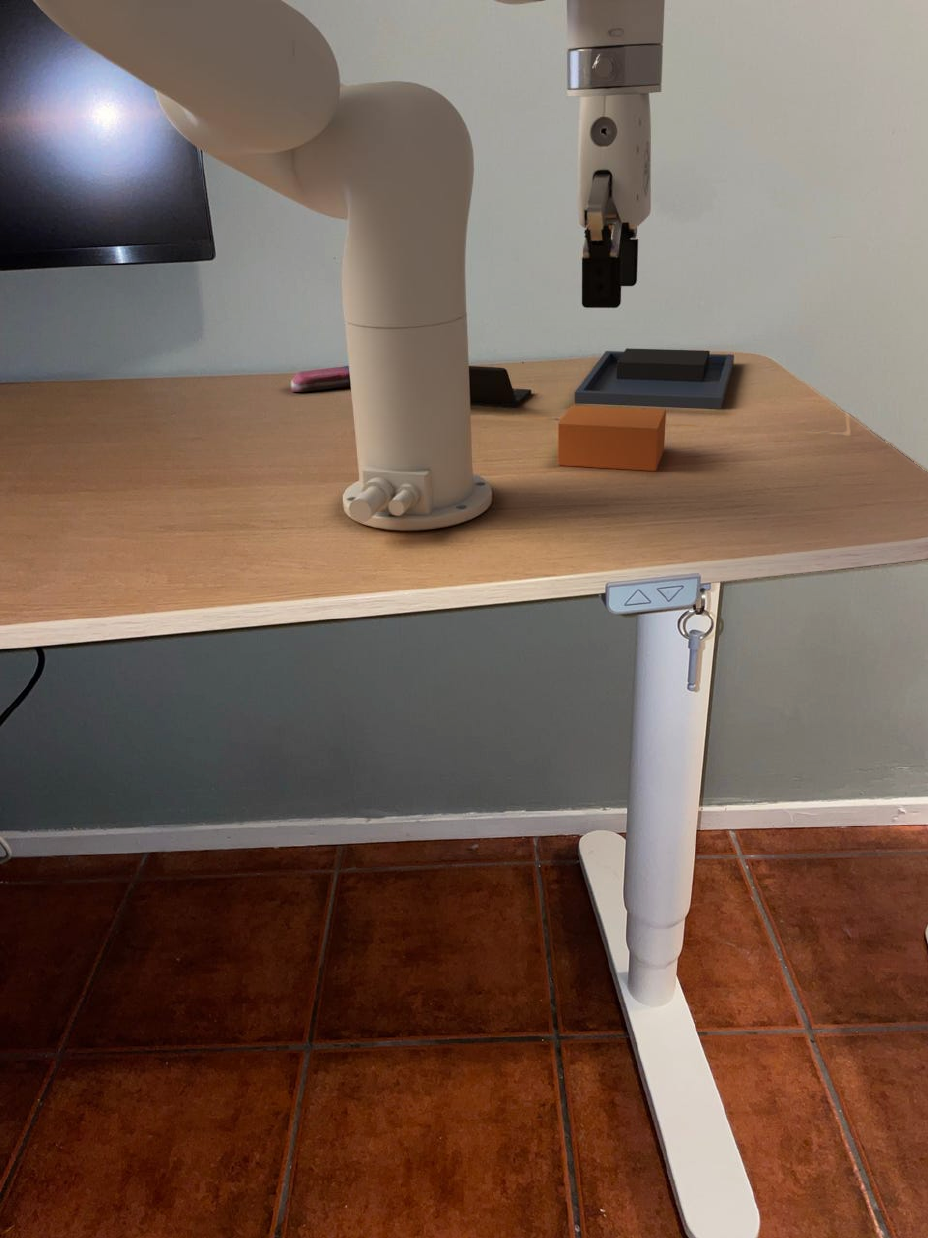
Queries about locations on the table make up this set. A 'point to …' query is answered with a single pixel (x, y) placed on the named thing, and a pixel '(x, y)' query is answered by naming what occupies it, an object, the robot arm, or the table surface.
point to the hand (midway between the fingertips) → (610, 295)
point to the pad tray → (655, 386)
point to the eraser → (321, 379)
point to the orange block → (611, 437)
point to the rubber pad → (663, 365)
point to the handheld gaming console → (494, 388)
